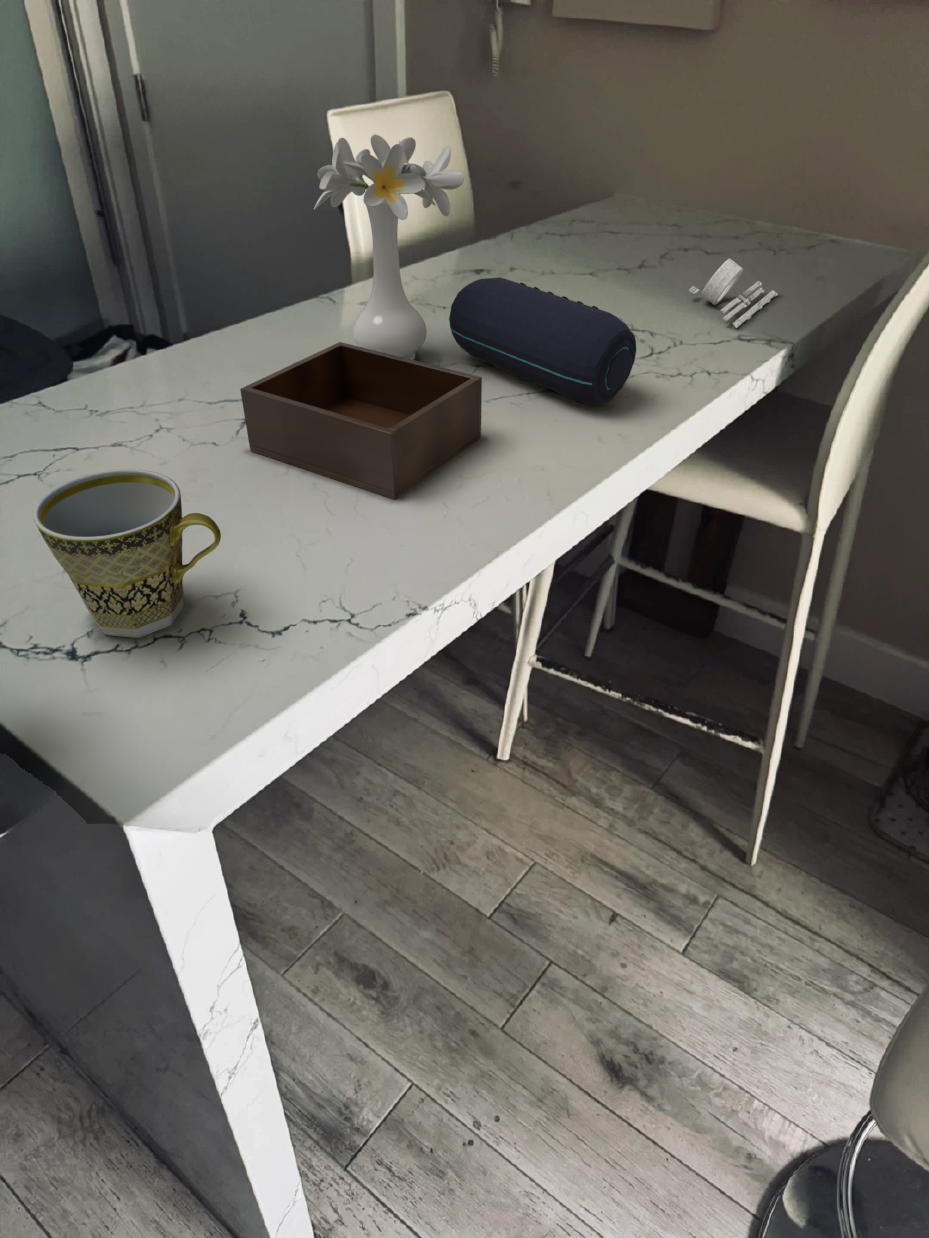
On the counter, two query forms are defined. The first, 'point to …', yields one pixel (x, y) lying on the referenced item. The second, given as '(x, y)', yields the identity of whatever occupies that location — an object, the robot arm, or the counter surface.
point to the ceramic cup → (122, 546)
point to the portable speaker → (544, 338)
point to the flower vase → (388, 231)
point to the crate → (364, 417)
